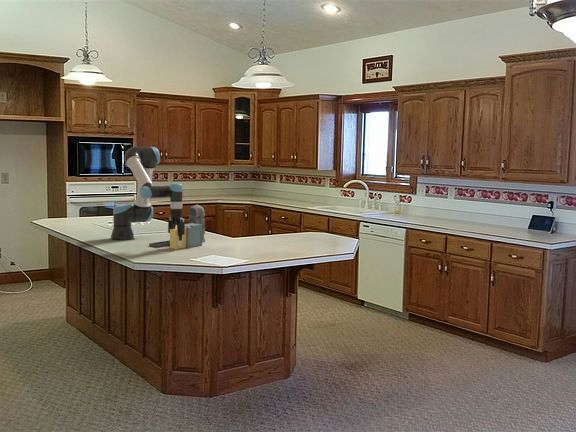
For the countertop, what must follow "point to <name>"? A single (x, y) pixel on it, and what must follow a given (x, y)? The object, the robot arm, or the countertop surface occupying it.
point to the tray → (160, 244)
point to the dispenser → (194, 235)
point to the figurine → (197, 217)
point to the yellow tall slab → (174, 239)
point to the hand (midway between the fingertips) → (176, 245)
